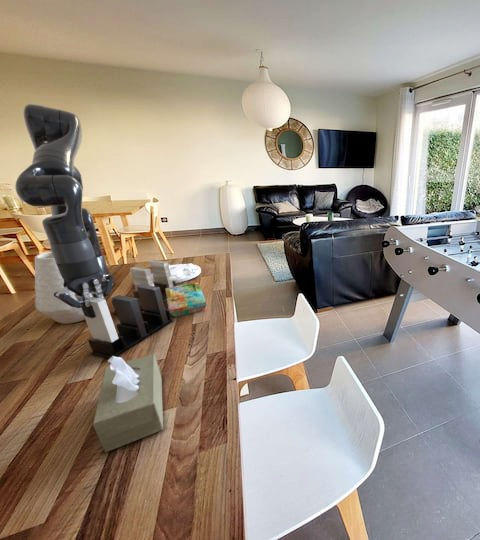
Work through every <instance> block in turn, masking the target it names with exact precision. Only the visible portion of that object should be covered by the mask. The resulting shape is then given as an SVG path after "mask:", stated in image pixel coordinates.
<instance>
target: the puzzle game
mask: <svg viewBox="0 0 480 540" xmlns="http://www.w3.org/2000/svg"><path fill="white" fill-rule="evenodd" d="M165 290H166V297H167V298H166V303H167V309H169V312H170V316H173V317H175V318H177V317H181V316H186V315H190V314H194V313H198V312H203V311H204V309H205V308H206V306H207V301H206V298H205V297H204V293H203V292H202V289H201V287H200V283H199V282H197V281H196V282H192V283H191V282H190V283H185V284H180V285H176V286H175V287H170V288H165Z"/></svg>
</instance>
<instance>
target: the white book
mask: <svg viewBox="0 0 480 540" xmlns="http://www.w3.org/2000/svg"><path fill="white" fill-rule="evenodd" d="M89 299H90V303H91V306H92V307H93V310H94V312H95V315H96V317H95V318H89V317H86V316H85V315H84V317H85V320H84V321H85V322H86V324H87V327H88V330H89V332H90V334H91V335H90V336H91V339H95V340H100V341H107V342H111V343H112V342H114V341H115V340H117V339H119V338H118V335H119V334H118V331H117V330H116V329H117V328H116V326H115V324H114V321H113V318H112V316H111V312H110V309H109V307H108V304H107V300H106V299H105V298H104V299H100V298H95V297H90V298H89ZM81 309H82V308H81ZM82 312H83V310H82ZM83 314H84V312H83Z"/></svg>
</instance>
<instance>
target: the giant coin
mask: <svg viewBox="0 0 480 540" xmlns="http://www.w3.org/2000/svg"><path fill="white" fill-rule="evenodd" d="M168 265H169V269H170V273H171V278H172V281H175V282H176V285H177V284H182V282H186V281H189V280H192V279H194V278H196V277H198V276H199V275H200V274H201V272H202V270H201V269H202V268H201V267H200V266H199V265H197V264H194V263H192V262H191V263H190V262H189V263H179V264H168ZM151 276H152V279H153V282H154V278H153V274H152V273H151Z"/></svg>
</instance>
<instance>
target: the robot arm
mask: <svg viewBox="0 0 480 540" xmlns="http://www.w3.org/2000/svg"><path fill="white" fill-rule="evenodd" d="M23 119H24V124H25V127H26V131H27V132H28V135H29V138H30V141H31V144H32V145H33V148H34V153H33V157H32V161H31V164H30V165H29V166H28V167H26V168H25V169H24V170H23V171H22V172H21V173H20V174H19V175H18V176H17V179H16V181H15V186H14V187H15V192H16V194H17V197H18V198H19V199H20V200H21V201H22V202H23V203H25V204H26V205H28V206H31V207H37V208H45V207H50V213H51V215H50V216H47V217H45V218H43V219H42V222H41V224H42V227H43V230H44V232H45V235H46V237H47V240H48V242H49V246H50V252H51V251H52V254H53V257H54V259H55V262H56V264H57V267H58V269H59V272H60V274H61V276H62V278H63V280H64V284H63V286H64V288H63V289H62V290H61V291H60V292H55V293H54V296H55V297H56V298H58V299H60V300H61V301H63V302H65V303H66V304H68V305H69V306H71V307H76V308H82V310H83V312H84V315H85V316H86V317H89V318H95V317H96V315H95V312H94V310H93V307H92V306H91V303H90V299H89V298H90V294H91V295H92V297H95V298H100V299H105V298H106V297H109V296H110V295H111V292H112V288H113V287H114V281H115V275H113V274H111V273H110V271H109V267H108V265H107V261H106V258H105V255H104V251H103V249H102V247H101V243H100V241H99V237H98V233H97V230H96V225H95V222H94V217H93V216H92V214H91V212H90V211H89V210H88V209H87V208H85V207H83V195H84V194H83V191H84V184H83V179H82V174H81V171H79V169H78V168H77V167H76V166H75V165H74V164H75V159H76V157H77V154H78V152H79V150H80V146H81V144H82V141H83V128H82V124H81V123H82V122H81V121H80V119H79V117H78V116H77V115H76V114H75V113H73V112H70V111H67V110H63V109H58V108H54V107H49V106H44V105H39V104H35V103H34V104H32V103H28V104H26V105H25V106H24V108H23ZM100 285H101V287H100ZM69 290H70V291H72V292H74V293H75V297H76V298H77V300H78V301H76V300H75V299H73V298H72V297H70V296H71V294H70V293H69Z"/></svg>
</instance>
